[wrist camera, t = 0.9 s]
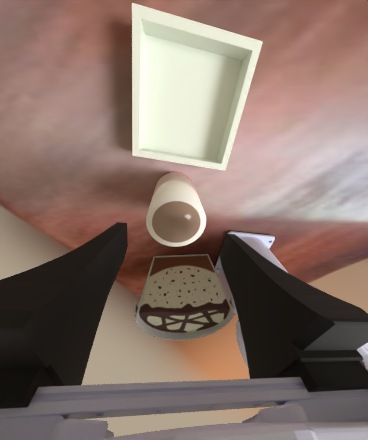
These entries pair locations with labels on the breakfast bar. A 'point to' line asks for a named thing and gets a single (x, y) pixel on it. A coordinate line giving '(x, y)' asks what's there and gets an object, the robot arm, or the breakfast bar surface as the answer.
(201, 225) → the cup
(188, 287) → the food container
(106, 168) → the breakfast bar surface
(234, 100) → the tray
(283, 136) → the breakfast bar surface
